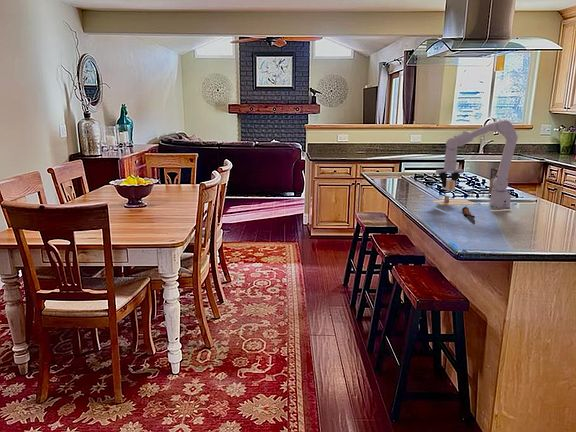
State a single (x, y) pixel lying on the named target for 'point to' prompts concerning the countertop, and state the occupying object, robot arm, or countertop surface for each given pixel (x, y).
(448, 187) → the slotted knob
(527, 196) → the countertop surface
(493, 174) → the coffee box
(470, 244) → the countertop surface
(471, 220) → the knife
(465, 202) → the shaft board
